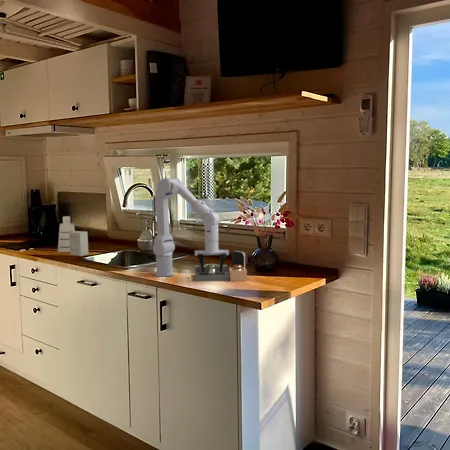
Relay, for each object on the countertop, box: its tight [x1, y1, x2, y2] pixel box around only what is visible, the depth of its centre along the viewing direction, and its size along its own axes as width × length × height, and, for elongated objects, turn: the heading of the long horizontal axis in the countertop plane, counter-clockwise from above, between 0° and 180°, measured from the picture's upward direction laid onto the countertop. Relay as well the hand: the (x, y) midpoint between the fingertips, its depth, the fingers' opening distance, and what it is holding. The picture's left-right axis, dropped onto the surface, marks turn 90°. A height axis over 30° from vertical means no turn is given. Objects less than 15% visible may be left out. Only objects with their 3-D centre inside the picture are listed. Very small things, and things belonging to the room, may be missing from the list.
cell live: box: [207, 263, 217, 275], centre depth 213 cm, size 4×4×6 cm
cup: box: [228, 267, 248, 282], centre depth 212 cm, size 7×7×5 cm
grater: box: [57, 215, 76, 253], centre depth 291 cm, size 10×10×20 cm
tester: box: [194, 263, 230, 282], centre depth 214 cm, size 13×14×6 cm
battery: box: [231, 250, 249, 269], centre depth 219 cm, size 7×4×11 cm, turn 47°
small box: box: [69, 230, 89, 257], centre depth 276 cm, size 8×6×13 cm
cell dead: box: [233, 265, 242, 270], centre depth 211 cm, size 4×4×6 cm
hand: (211, 271), depth 213 cm, fingers open, 7 cm apart
